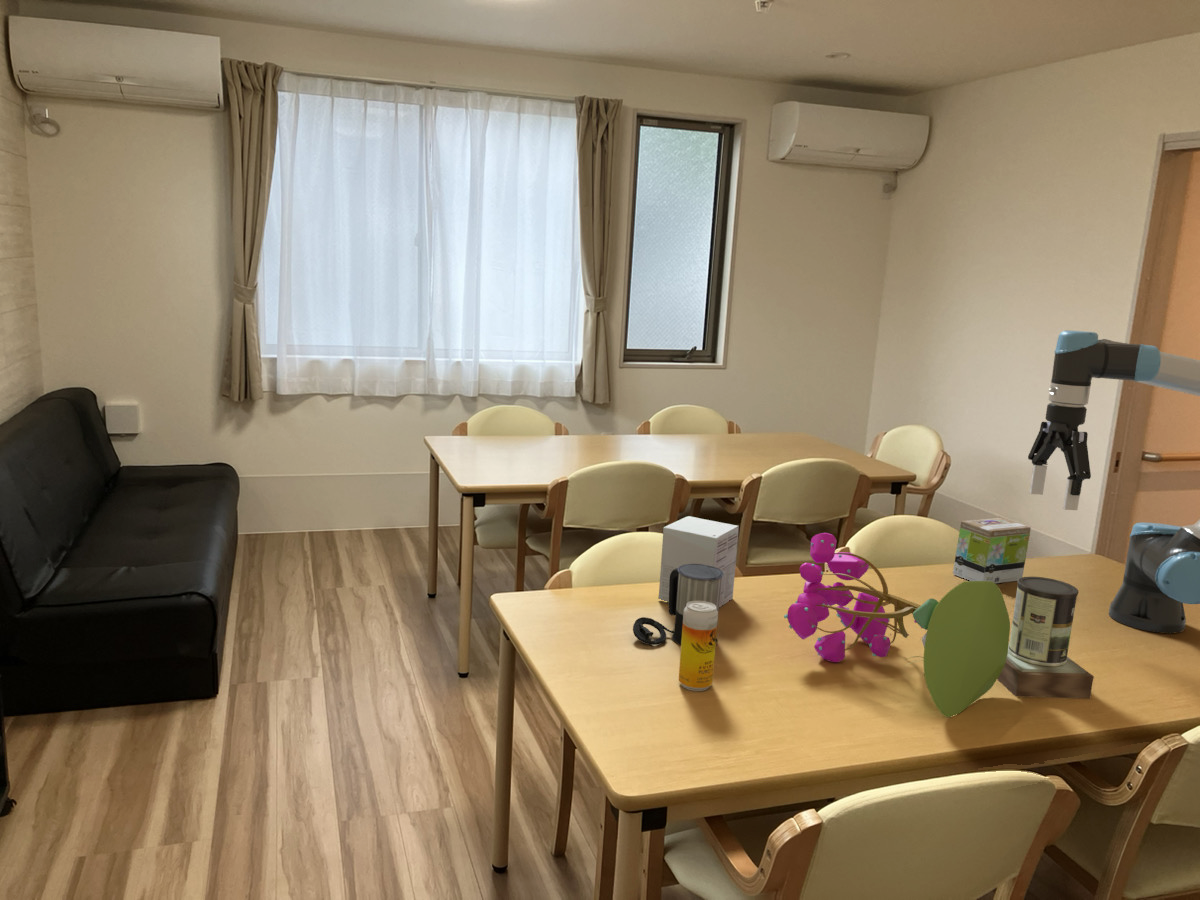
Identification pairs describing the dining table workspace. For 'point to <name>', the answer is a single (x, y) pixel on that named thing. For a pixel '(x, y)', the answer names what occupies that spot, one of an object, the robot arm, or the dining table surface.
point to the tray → (1045, 679)
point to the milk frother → (683, 599)
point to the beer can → (698, 645)
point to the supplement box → (699, 551)
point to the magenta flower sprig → (954, 625)
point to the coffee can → (1042, 621)
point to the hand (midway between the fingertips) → (1052, 501)
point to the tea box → (991, 550)
